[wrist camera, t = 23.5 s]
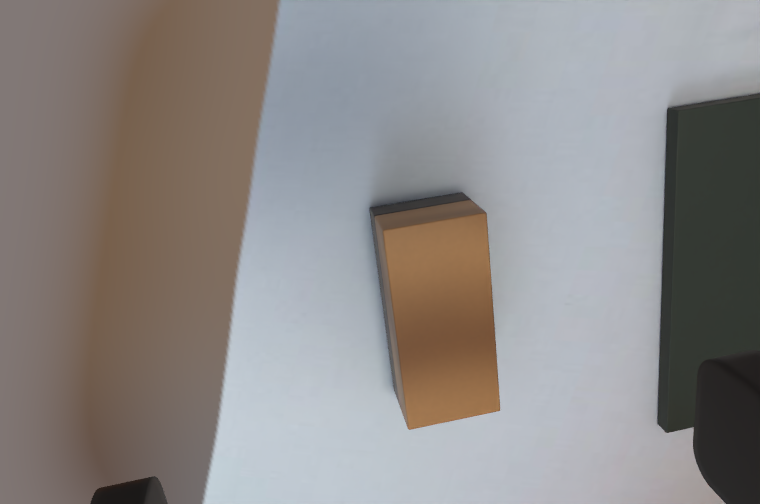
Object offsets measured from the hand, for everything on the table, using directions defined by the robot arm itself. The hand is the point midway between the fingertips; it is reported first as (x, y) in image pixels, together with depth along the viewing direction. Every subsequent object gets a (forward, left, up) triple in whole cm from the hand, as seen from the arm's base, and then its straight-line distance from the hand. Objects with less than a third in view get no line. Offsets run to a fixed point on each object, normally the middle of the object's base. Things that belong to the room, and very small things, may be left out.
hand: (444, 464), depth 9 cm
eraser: (+9, +5, -24) cm, 26 cm away
